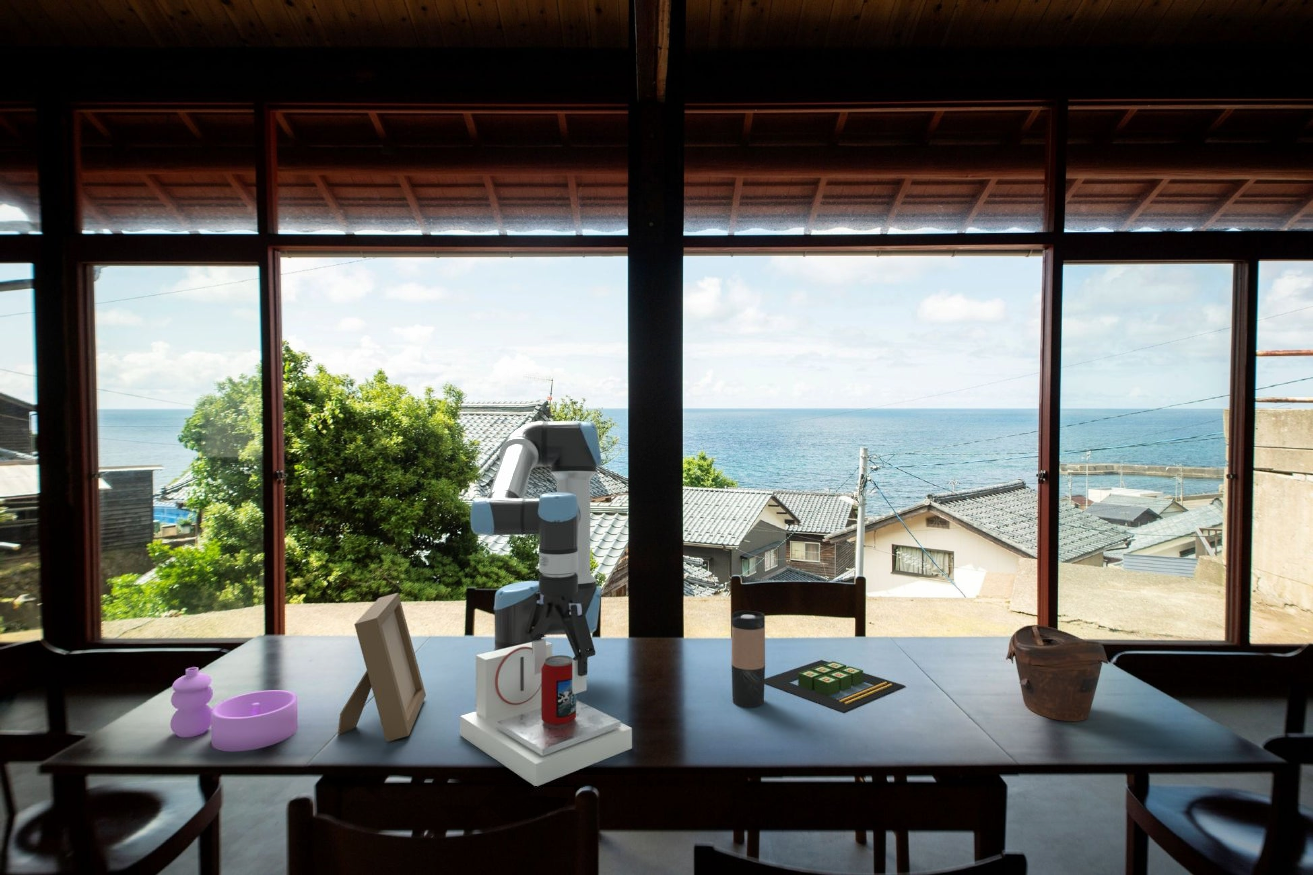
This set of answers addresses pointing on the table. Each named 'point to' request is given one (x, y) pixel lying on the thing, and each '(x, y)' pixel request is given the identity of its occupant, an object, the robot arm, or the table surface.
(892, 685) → the sushi
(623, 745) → the scale
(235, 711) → the container set
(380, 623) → the photo frame
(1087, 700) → the case
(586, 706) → the weighing pan
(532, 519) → the robot arm
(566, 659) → the beverage can
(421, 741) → the table surface
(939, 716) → the table surface
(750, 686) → the travel mug
